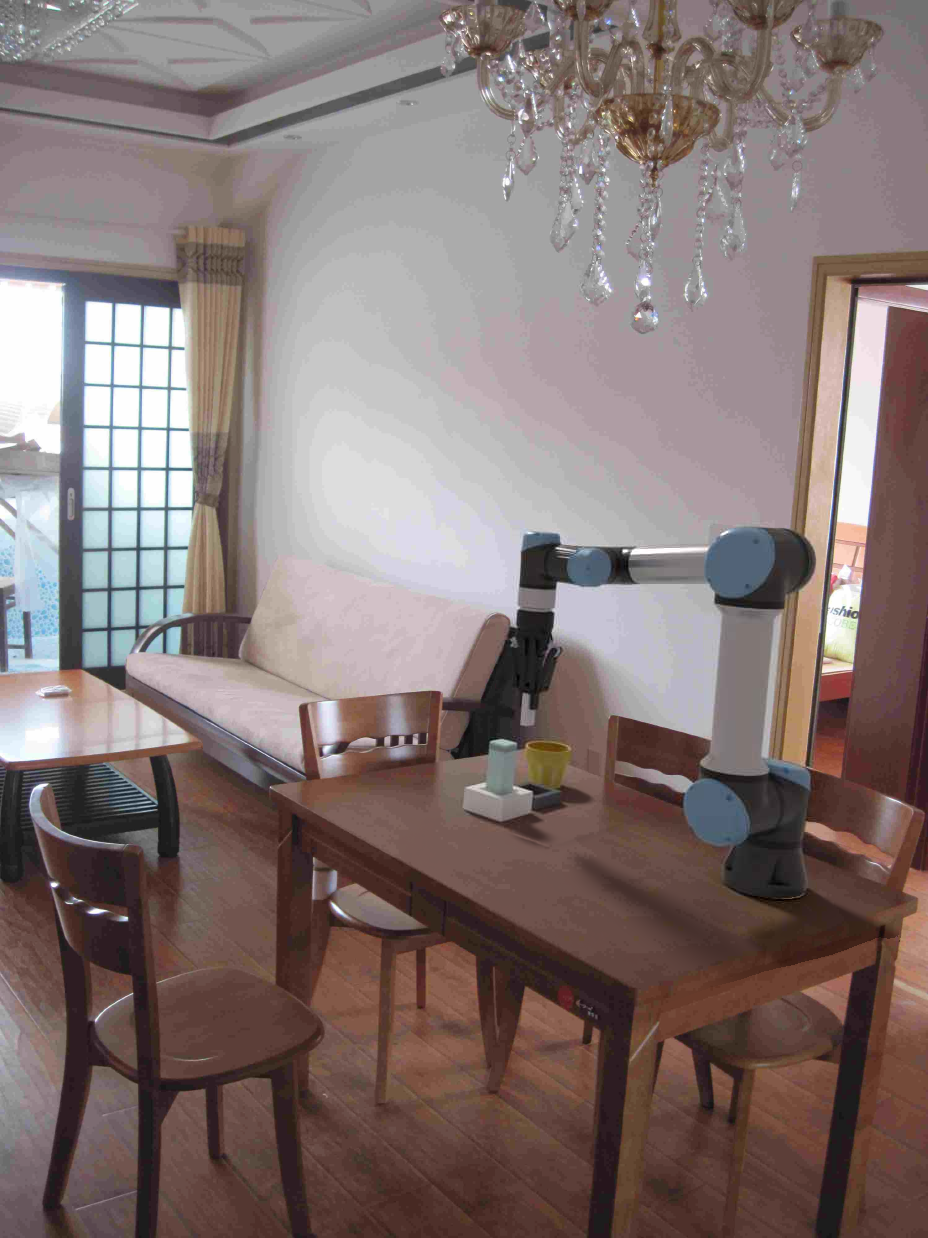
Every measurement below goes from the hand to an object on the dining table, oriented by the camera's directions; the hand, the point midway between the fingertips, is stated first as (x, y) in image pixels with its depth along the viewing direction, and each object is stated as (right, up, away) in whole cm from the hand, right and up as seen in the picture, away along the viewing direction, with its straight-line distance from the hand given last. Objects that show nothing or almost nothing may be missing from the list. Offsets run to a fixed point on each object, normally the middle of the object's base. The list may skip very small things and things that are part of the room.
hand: (527, 724), depth 232 cm
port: (-6, -19, +4) cm, 20 cm away
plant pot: (+5, -17, +27) cm, 33 cm away
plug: (-6, -18, +4) cm, 19 cm away
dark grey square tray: (+2, -18, +13) cm, 23 cm away
